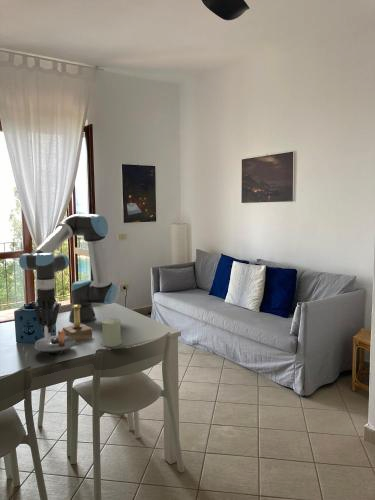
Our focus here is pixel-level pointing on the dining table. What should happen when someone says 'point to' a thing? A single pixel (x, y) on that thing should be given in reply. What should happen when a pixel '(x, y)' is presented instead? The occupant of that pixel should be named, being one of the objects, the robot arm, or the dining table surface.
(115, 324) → the can
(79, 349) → the dining table surface
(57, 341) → the handwheel
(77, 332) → the brown square block
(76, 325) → the hook pin
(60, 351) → the wheel base
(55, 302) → the robot arm
